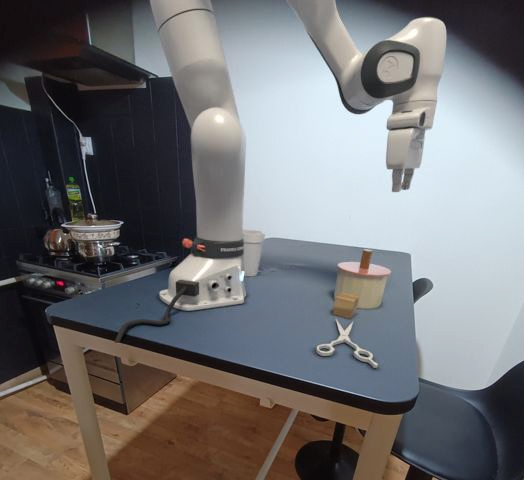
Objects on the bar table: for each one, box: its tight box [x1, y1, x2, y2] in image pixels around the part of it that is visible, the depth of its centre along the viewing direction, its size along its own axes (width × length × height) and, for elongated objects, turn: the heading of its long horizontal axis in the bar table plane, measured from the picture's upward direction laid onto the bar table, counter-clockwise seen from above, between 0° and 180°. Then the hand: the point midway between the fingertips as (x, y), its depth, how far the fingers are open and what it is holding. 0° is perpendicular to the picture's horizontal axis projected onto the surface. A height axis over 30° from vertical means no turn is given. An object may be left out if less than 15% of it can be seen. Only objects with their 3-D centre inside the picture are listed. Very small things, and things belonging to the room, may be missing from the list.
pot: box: [333, 268, 389, 310], centre depth 85 cm, size 13×13×8 cm
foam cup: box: [242, 229, 266, 277], centre depth 101 cm, size 10×9×13 cm
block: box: [332, 293, 359, 320], centre depth 76 cm, size 4×4×4 cm
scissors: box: [315, 318, 379, 369], centre depth 64 cm, size 11×1×20 cm
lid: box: [337, 248, 392, 277], centre depth 82 cm, size 14×14×6 cm
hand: (400, 190), depth 77 cm, fingers open, 8 cm apart
